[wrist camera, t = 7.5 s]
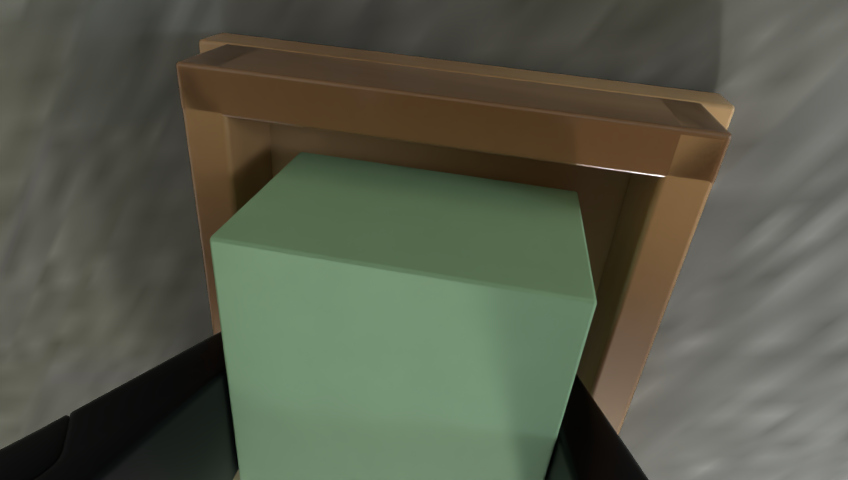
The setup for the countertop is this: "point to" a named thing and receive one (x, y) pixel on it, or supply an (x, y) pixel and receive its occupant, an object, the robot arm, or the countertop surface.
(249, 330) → the green rectangular block
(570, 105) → the frame
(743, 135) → the countertop surface
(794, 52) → the countertop surface
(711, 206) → the countertop surface
